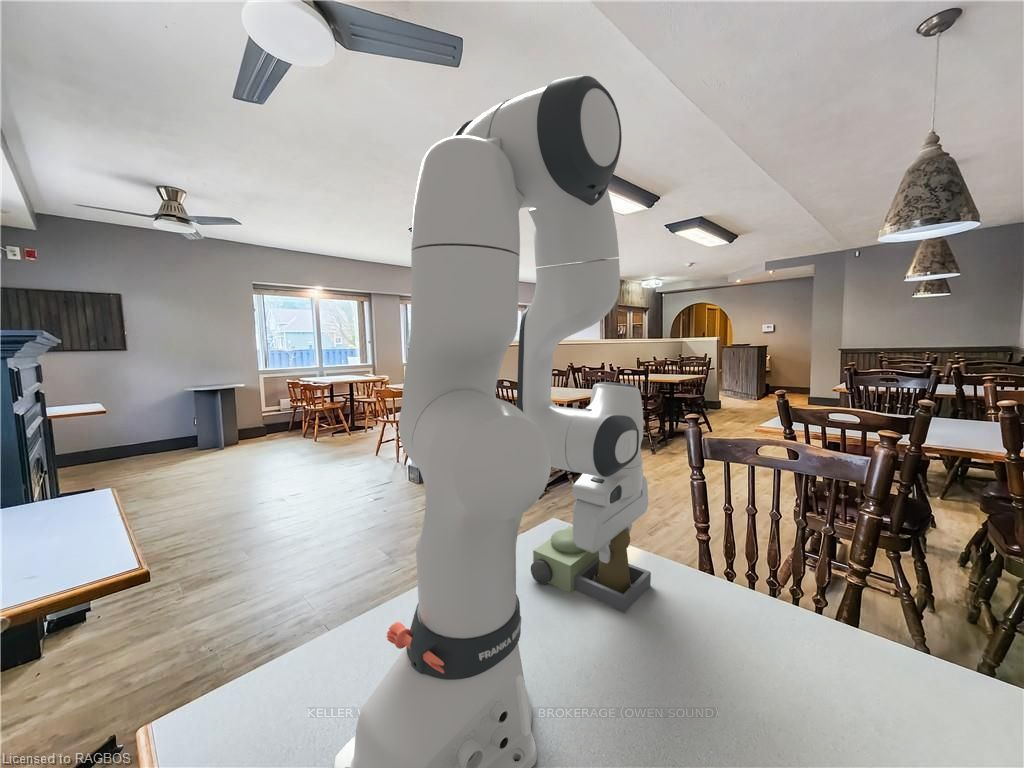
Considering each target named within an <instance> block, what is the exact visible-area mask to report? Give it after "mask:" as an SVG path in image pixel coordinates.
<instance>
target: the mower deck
mask: <svg viewBox="0 0 1024 768" xmlns="http://www.w3.org/2000/svg"><path fill="white" fill-rule="evenodd" d="M532 553H533V559H532V560H533V563H532V564H531V565H530V573H531V576H532V578H533V579H534V581H536V582H537V584H540V585H546V584H547V583H548V584H551V585H552V586H555V587H556V588H559V589H560V590H563V591H565V592H567V593H569V594H571V593H573V592H574V591H575V592H578V593H581V594H582V595H585V596H586V597H589V598H591V599H594V600H596V601H597V602H601V603H603V604H604V605H606V606H608V607H611V608H613V609H615V610H617V611H620V612H622V613H624V614H626V613H627V612H628V611H629V610H630V609H631V608H632V606H633V605H634V604H635V603H636V602H637V601H638V600H639V598H641V597H642V595H644V593H645V592H646V591H647V590H648V589H649V587H650V586H651V583H652V582H651V581H652V580H651V579H652V572H651V571H649V570H647V569H644V568H641V567H638V566H636V565H633V564H631V563H628V564H629V573H630V581H631V582H634V583H633V584H631V587H630V588H629V589H628V590H627V591H626V592H625V593H624V594H622V593H619V592H617V591H615V590H612V589H610V588H608V587H605V586H603V585H601V584H598V583H596V582H597V581H596V582H595V581H593V579H594V578H596V577H597V575H598V569H599V563H600V560H599V551H597V552H595V553H591V552H588V551H586V550H583V549H581V548H578V547H577V546H576V544H575V543H574V539H573V526H568V527H567V528H565V529H560V530H557V531H554V533H552V535H551V537H550V539H549V540H547V541H545V542H544V543H542V544H540V545H539V546H538V547H536V548H535V549H533V551H532Z"/></svg>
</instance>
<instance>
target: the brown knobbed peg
mask: <svg viewBox="0 0 1024 768" xmlns="http://www.w3.org/2000/svg"><path fill="white" fill-rule="evenodd" d="M630 543H631V536H630V534H629V532H628V531H627V529H626V528H625V529H624V530H623V531H622V532H620V533H619V534H618V535H617V536H615V537H614V538H613V539H612V540H610V545H609V549H610V550H612V551H613V555H612V557H613V559H612V560H611V561H610V562H609V563H604V562H601V561H600V563H599V569H598V574H597V575H596V583H598V584H601V585H603V586H605V587H608V588H610V589H612V590H615V591H617V592H619V593H622V594H624V593H625V592H626V591H627V590H628V589H629V588H630V587H631V586H632V584H631V583H632V581H631V580H630V573H629V564H630V563H629V557H628V550H627V549H628V547H630Z"/></svg>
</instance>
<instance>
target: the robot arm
mask: <svg viewBox="0 0 1024 768" xmlns="http://www.w3.org/2000/svg"><path fill="white" fill-rule="evenodd" d="M616 105H617V104H616V103H615V101H614V99H613V97H612V95H611V93H610V91H608V89H606V87H604V86H603V84H601V82H600V81H599V80H597V79H596V78H595V77H594V76H590V75H573V76H568V77H562V78H559V79H554V80H553V81H552V82H550V83H549V84H548V85H547V86H545V87H541V88H538V89H535V90H532V91H529V92H526V93H524V94H521V95H519V96H517V97H514V98H508V99H505V100H504V101H502V102H500V103H499V104H498V103H497V104H496V105H495V106H493V107H491V108H490V109H489V110H487V111H484V112H483V113H481V115H479V116H477V117H476V118H475V119H472V120H469V121H466V122H465V123H464V124H462V125H461V126H460V127H459V128H458V129H457V130H456V131H455V132H454V133H453V135H452V136H450V137H447V138H446V137H445V138H443V139H442V140H440V141H438V142H436V143H435V144H433V145H432V146H431V147H430V148H429V149H428V151H427V152H426V153H425V155H424V157H423V159H422V162H421V166H420V169H419V170H420V171H419V175H418V179H417V186H416V192H415V197H414V198H415V199H414V204H413V214H412V226H411V227H412V228H411V251H410V252H411V255H410V256H411V268H410V269H411V273H410V276H411V277H410V279H411V280H410V283H411V284H410V285H411V287H410V291H411V292H410V334H409V344H408V353H407V357H406V358H407V359H406V363H405V364H406V365H405V370H404V371H405V372H404V376H403V377H404V379H403V384H402V385H403V386H402V397H401V407H400V408H401V409H400V412H399V416H398V417H399V418H398V433H399V438H400V439H399V440H400V442H401V446H402V448H403V450H404V452H405V454H406V455H407V457H408V458H409V460H411V462H413V464H414V465H415V466H416V467H417V469H418V471H419V473H420V475H421V478H422V481H423V485H424V493H425V497H424V498H425V500H424V501H425V505H424V506H425V507H424V513H423V514H424V516H423V522H422V528H421V529H422V530H421V534H420V535H419V537H418V538H417V540H416V544H415V554H416V558H415V559H416V560H415V561H416V576H417V579H416V581H417V597H418V600H417V601H418V603H417V605H416V607H415V611H414V615H413V617H412V622H411V625H410V629H409V628H407V627H405V625H404V624H403V623H402V622H400V621H397V622H394V623H393V624H391V626H389V628H388V629H389V630H387V633H386V634H387V635H386V639H387V641H389V643H391V644H393V645H395V647H396V648H397V649H398V650H402V649H403V651H402V652H401V653H400V654H399V656H397V658H396V660H395V661H394V663H393V664H392V665H391V666H390V668H389V670H388V671H387V673H386V674H385V675H384V676H383V678H382V680H381V681H380V682H379V684H378V685H377V686H376V687H375V689H374V691H373V692H372V693H371V695H370V696H369V697H368V699H367V700H366V701H365V703H364V704H363V705H362V708H361V710H360V712H359V715H358V719H357V723H356V729H355V734H354V735H353V737H351V738H350V740H349V741H348V742H346V744H345V745H343V746H342V748H341V749H340V750H339V751H338V752H337V753H336V755H335V756H334V759H333V765H332V768H533V767H534V766H535V764H536V762H537V761H538V760H537V759H538V753H537V752H538V751H537V746H536V740H535V738H534V734H533V732H532V722H533V710H532V709H533V708H532V702H531V698H530V696H529V694H528V691H527V687H526V683H525V682H526V681H525V677H524V676H525V675H524V669H523V663H522V659H521V652H520V646H519V641H520V638H521V634H522V633H521V632H522V631H521V630H522V629H521V627H522V616H521V604H520V599H519V596H518V594H517V542H518V534H519V530H520V527H521V521H522V518H523V515H524V513H525V512H526V511H528V510H529V509H531V508H532V506H533V505H534V504H535V503H536V502H537V501H538V500H539V499H540V497H541V496H542V494H543V493H544V491H545V489H546V487H547V485H548V482H549V479H550V476H551V471H552V468H555V469H558V470H564V471H568V472H572V473H579V474H581V475H580V476H579V477H578V479H577V480H576V481H575V482H574V483H573V484H572V487H571V496H572V498H574V499H576V500H575V502H574V504H573V508H572V509H573V510H572V527H573V539H574V543H575V544H576V546H577V547H578V548H581V549H583V550H586V551H588V552H591V553H595V552H597V551H599V560H600V561H601V562H604V563H609V562H610V561H611V560H612V559H613V557H612V555H613V551H612V550H610V549H609V545H610V540H612V539H613V538H614V537H615V536H617V535H618V534H619V533H620V532H622V531H623V530H624V529H625V528H626V529H627V531H628V532H629V535H630V534H631V530H632V527H633V523H634V522H636V521H637V520H638V519H640V517H642V516H644V514H645V513H646V512H647V510H648V508H649V489H648V488H649V487H648V481H647V478H646V476H645V475H644V470H643V455H642V452H641V447H642V446H641V445H642V441H643V438H644V412H643V410H644V409H643V400H642V395H641V391H640V389H639V387H637V386H636V385H634V384H631V383H626V382H625V383H624V382H623V383H620V382H609V381H599V382H597V383H594V384H593V386H592V389H591V394H590V401H589V404H588V405H587V406H586V407H585V408H582V409H581V408H574V407H565V406H558V405H557V404H556V403H554V401H553V400H552V381H553V380H552V379H553V378H552V377H553V363H554V353H555V351H556V348H557V347H558V345H559V344H560V343H561V342H562V341H563V340H565V339H566V338H568V337H571V336H572V335H575V334H578V333H580V332H582V331H584V330H586V329H588V328H590V327H593V326H595V324H597V323H599V322H601V320H604V318H605V317H606V316H607V315H608V314H610V312H611V310H613V307H614V306H615V304H616V302H617V300H618V298H619V293H620V286H621V284H620V283H621V270H620V268H621V267H620V258H619V257H620V253H619V252H620V251H619V250H620V249H619V239H618V232H617V231H618V230H617V226H616V225H617V224H616V220H615V212H614V209H613V204H612V200H611V196H610V192H609V189H608V187H609V184H610V180H611V179H612V177H613V175H614V172H615V171H616V167H617V165H618V162H619V159H620V154H621V149H622V137H623V136H622V134H623V133H622V125H621V118H620V115H619V110H618V108H617V106H616ZM524 208H529V210H527V211H528V213H529V215H530V217H531V219H532V221H533V224H534V235H533V239H534V240H533V242H534V243H533V244H534V246H533V247H534V261H535V262H534V264H535V273H536V275H535V276H536V277H535V279H536V280H535V288H534V289H535V290H534V295H533V298H532V301H531V304H530V305H529V306H527V308H525V310H524V312H523V314H522V316H521V320H520V325H519V334H518V351H517V354H518V355H517V384H516V386H517V387H516V390H517V391H516V405H514V404H513V403H511V402H508V401H506V400H504V399H501V398H497V395H496V393H497V384H498V379H499V376H500V372H501V368H502V364H503V361H504V359H505V355H506V352H507V351H508V348H509V347H510V345H511V344H512V343H513V341H514V340H515V338H516V334H517V331H518V322H519V321H518V320H519V293H520V291H519V287H520V260H521V255H520V254H521V235H520V234H521V231H520V228H521V227H520V216H519V214H520V213H519V212H520V210H521V209H524ZM515 760H516V761H515ZM517 760H518V761H517Z"/></svg>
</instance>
